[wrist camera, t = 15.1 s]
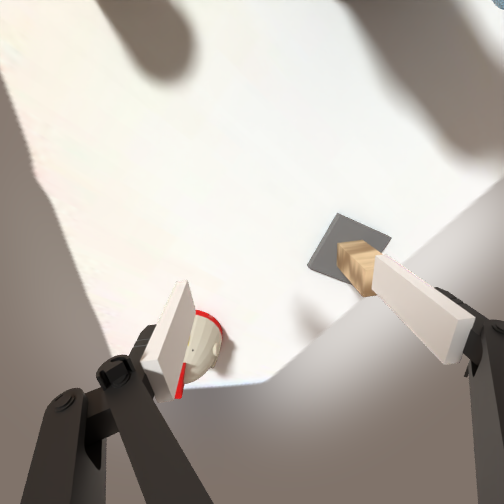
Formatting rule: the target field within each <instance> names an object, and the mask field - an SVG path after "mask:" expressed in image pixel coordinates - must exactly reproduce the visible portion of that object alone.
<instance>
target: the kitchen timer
mask: <svg viewBox="0 0 504 504" xmlns="http://www.w3.org/2000/svg"><path fill="white" fill-rule="evenodd" d="M221 343H222V329H221V326H220V324H219V322H218V321H217V320H216V319H215V318H214V317H212V316H211V315H209V314H208V313H205V312H202V311H200V310H196V314H195V318H194V322H193V326H192V330H191V334H190V337H189V341H188V345H187V349H186V353H185V357H184V361H183V365H182V369H181V373H180V377H179V381H178V385H177V389H176V394H175V399H180V398H182V393H183V388H184V384H188V383H191V382H194V381H195V380H197V379H199V378H200V377H201V376H203V375H204V374H205V373H206V372H207V370H208V369H209V368H210V367H211V368H214V366H215V364H216V361H217V358H218V355H219V352H220V348H221Z"/></svg>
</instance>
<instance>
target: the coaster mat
mask: <svg viewBox="0 0 504 504" xmlns="http://www.w3.org/2000/svg"><path fill="white" fill-rule="evenodd" d="M357 240H364V241H365V242H367V243H368V244H369V245H371V246H372V247H373V248H375V249H376V250H378V251H379V252H380V253H382V251H383V250H384V248H385V247H386V245H387V244H388V242H389V241H390V240H391V237H389V236H387V235H385V234H383V233H381V232H379V231H376V230H374V229H372V228H370V227H368V226H365V225H363V224H361V223H359V222H356V221H354V220H352V219H350V218H347V217H345V216H343V215H341V214H339V213H337V214H336V216H335V218H334V219H333V221H332V223H331V225H330V226H329V228H328V230H327V232H326V233H325V235H324V237H323V238H322V240H321V242H320V244H319V245H318V247H317V249H316V251H315V252H314V254H313V256H312V257H311V259H310V261H309V263H308V264H307V266H308V267H309V268H310V269H312V270H315V271H317V272H320V273H323V274H325V275H328V276H331V277H333V278H336V279H339V280H341V281H344V282H347V283H349V284H352V283H351V282H350V281H349V280H348V279H347V277H346V276H345V275H344V274H343V273H342V271H341V270H340V269H339V268H338V267H337V243H342V242H350V241H357ZM352 285H353V284H352Z"/></svg>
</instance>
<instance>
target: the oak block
mask: <svg viewBox="0 0 504 504" xmlns="http://www.w3.org/2000/svg"><path fill="white" fill-rule="evenodd" d="M376 255H383V254H382V253H380V252H379V251H378V250H376V249H375V248H373V247H372V246H371V245H369V244H368V243H367V242H365V241H364V240H357V241H350V242H342V243H337V267H338V268H339V269H340V270H341V271H342V273H343V274H344V275H345V276H346V277H347V279H348V280H349V281H350V282H351V283H352V284H353V286H354V287H355V288H356V289H357V290H358V292H359V293H360V294H361V295H362V296H363V297H368V296H376V295H377V294H376V293H375V292H374V291H373V290H372V280H373V272H374V263H375V256H376Z"/></svg>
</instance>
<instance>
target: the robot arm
mask: <svg viewBox="0 0 504 504" xmlns="http://www.w3.org/2000/svg"><path fill="white" fill-rule="evenodd" d="M492 1H493V2H494V4H495V5H496V6H497V7H498V8H500V9H503V10H504V0H492ZM372 290H373V291H374V292H375V293H376V294H377V295H378V296H379V297H380V298H381V299H382V300H383V301H384V302H385V304H387V306H388V307H389V308H390V309H391V310H392V311H393V312H394V313H395V314H396V315H397V316H398V317H399V318H400V319H401V320H402V321H403V322H404V323H405V324H406V325H407V326H408V327H409V329H410V330H411V331H412V332H413V333H414V334H415V335H416V336H417V337H418V338H419V339H420V340H421V341H422V342H423V343H424V344H425V345H426V346H427V347H428V349H429V350H430V351H431V352H432V353H433V354H434V355H435V356H436V357H437V358H438V359H439V360H440V361H441V362H442V363H443V364H444V365H446V364H453V363H460V360H461V358H462V355H463V353H464V354H465V355H466V356H467V357H468V358H469V359H470V361H469V364H468V366H467V369H466V372H465V375H464V377H467V376H468V374H469V384H470V396H471V411H472V424H473V437H474V452H475V464H476V478H477V491H478V504H504V321H500V320H489V319H487V318H486V317H485V316H483V315H481V314H480V313H478V312H477V311H476V310H474V309H473V308H471V307H470V306H468V305H467V304H464V303H463V302H462V301H461V300H459V299H457V298H456V297H455V296H454V295H452V294H450V293H449V292H448V291H445V290H443V289H440V288H438V287H435V288H433V287H432V286H430V285H429V284H427V283H426V282H425V281H423V280H422V279H420V278H419V277H418V276H416V275H415V274H414V273H412V272H411V271H409V270H408V269H406V268H405V267H404V266H402V265H401V264H399V263H398V262H397V261H395V260H394V259H392V258H391V257H390V256H388V255H387V254H384V255H376V256H375V263H374V272H373V280H372ZM195 314H196V310H195V306H194V302H193V299H192V295H191V291H190V287H189V284H188V280H183V281H176V283H175V286H174V288H173V290H172V292H171V294H170V297H169V299H168V301H167V303H166V305H165V307H164V310H163V312H162V314H161V316H160V318H159V321H158V323H157V324H155V325H148V326H147V327H146V328H145V329H144V330H143V331H142V332H141V333H140V335H139V337H138V339H137V341H136V343H135V345H134V348H132V350H131V352H130V354H129V356H127V355H117V356H114V357H112V358H110V359H109V360H107V361H106V362H105V363H103V364H102V365H101V366H100V368H99V369H98V371H97V373H96V378H97V380H98V382H99V383H100V385H101V387H100V388H98V389H95V390H93V391H90V392H88V393H84V392H83V390H82V389H80V388H73V389H69V390H67V391H65V392H63V393H62V394H60V395H59V396H57V397H56V398H55V399H54V400H53V401H52V402H51V403H50V404H49V405H48V407H47V409H46V411H45V413H44V417H43V421H42V424H41V428H40V432H39V436H38V440H37V443H36V447H35V451H34V454H33V458H32V462H31V466H30V470H29V473H28V477H27V481H26V484H25V488H24V492H23V496H22V499H21V503H20V504H105V500H106V497H105V496H106V437H109V436H111V435H113V434H115V433H117V432H120V435H121V438H122V441H123V443H124V445H125V448H126V451H127V454H128V456H129V459H130V462H131V464H132V467H133V470H134V472H135V475H136V477H137V480H138V483H139V485H140V488H141V491H142V493H143V496H144V498H145V501H146V504H213V502H212V500H211V498H210V497H209V495H208V493H207V492H206V490H205V488H204V486H203V485H202V483H201V481H200V480H199V478H198V476H197V474H196V473H195V471H194V469H193V468H192V466H191V464H190V462H189V461H188V459H187V457H186V456H185V454H184V452H183V450H182V449H181V447H180V445H179V444H178V442H177V440H176V439H175V437H174V435H173V433H172V432H171V430H170V428H169V427H168V425H167V423H166V421H165V420H164V418H163V416H162V415H161V413H160V411H159V410H158V408H157V406H156V404H155V403H154V401H153V397H154V396H155V398H156V400H157V402H158V403H159V402H167V401H173V400H174V397H175V393H176V389H177V385H178V381H179V377H180V373H181V369H182V365H183V361H184V357H185V353H186V349H187V345H188V341H189V337H190V334H191V330H192V326H193V322H194V318H195Z"/></svg>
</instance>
